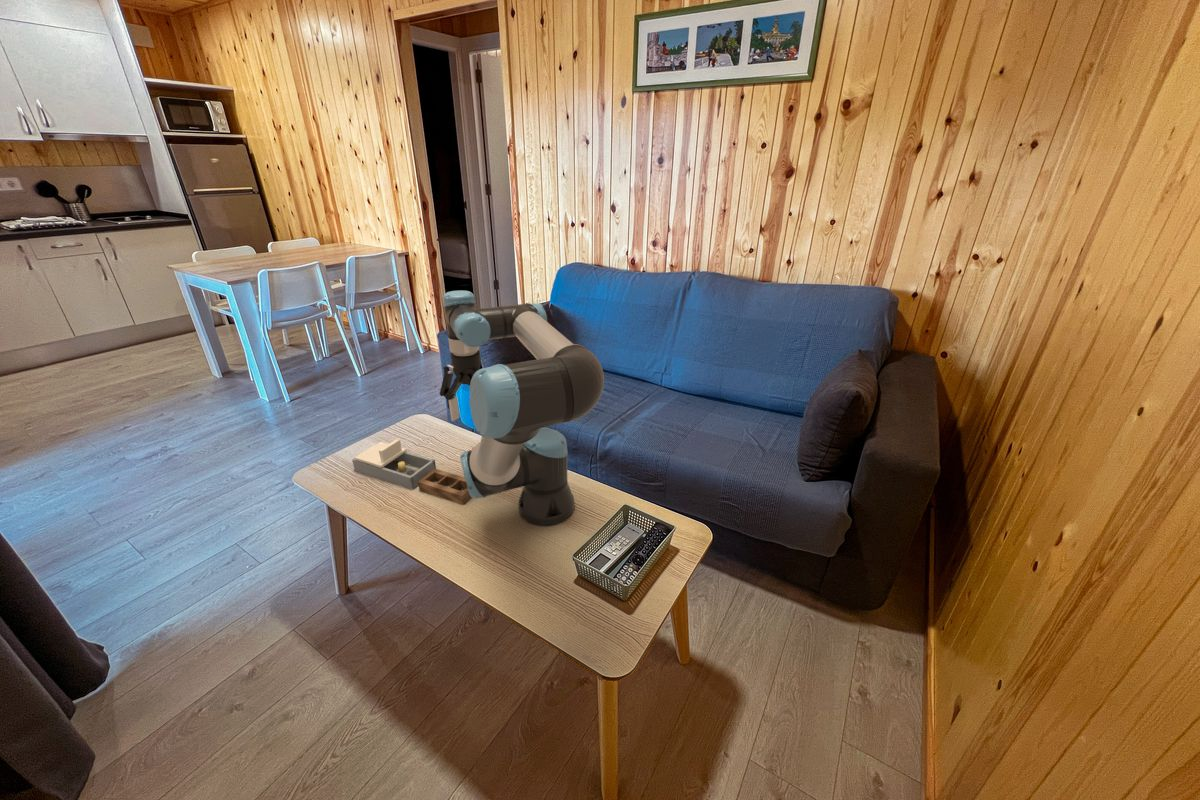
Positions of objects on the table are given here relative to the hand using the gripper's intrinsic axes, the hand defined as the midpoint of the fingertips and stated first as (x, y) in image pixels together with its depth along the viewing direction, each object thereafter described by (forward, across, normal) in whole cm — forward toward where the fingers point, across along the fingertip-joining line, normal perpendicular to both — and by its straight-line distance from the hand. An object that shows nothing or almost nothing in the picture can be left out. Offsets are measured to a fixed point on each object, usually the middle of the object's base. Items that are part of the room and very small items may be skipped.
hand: (473, 423), depth 130 cm
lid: (+14, +30, +8) cm, 34 cm away
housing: (+18, +25, +8) cm, 32 cm away
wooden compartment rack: (+18, +4, +9) cm, 21 cm away
